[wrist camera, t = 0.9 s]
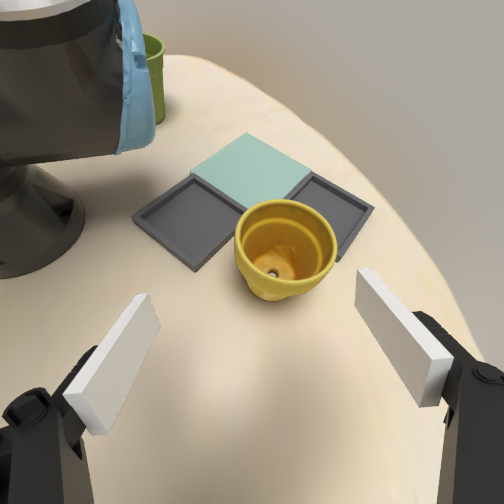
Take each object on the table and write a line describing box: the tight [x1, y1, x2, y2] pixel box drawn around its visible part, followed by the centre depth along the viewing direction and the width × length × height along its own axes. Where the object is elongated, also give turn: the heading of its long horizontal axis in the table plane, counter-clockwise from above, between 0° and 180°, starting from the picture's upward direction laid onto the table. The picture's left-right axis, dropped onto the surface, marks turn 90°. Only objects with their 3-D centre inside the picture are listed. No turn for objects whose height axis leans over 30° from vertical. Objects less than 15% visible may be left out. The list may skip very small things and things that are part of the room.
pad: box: [190, 133, 311, 209], centre depth 41 cm, size 15×15×1 cm
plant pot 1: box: [142, 32, 165, 124], centre depth 42 cm, size 12×12×11 cm
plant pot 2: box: [234, 199, 337, 301], centre depth 28 cm, size 10×10×10 cm
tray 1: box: [131, 173, 248, 273], centre depth 35 cm, size 12×12×2 cm
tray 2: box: [284, 171, 375, 262], centre depth 38 cm, size 12×12×2 cm
